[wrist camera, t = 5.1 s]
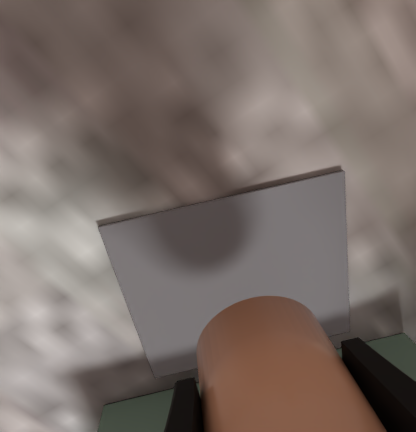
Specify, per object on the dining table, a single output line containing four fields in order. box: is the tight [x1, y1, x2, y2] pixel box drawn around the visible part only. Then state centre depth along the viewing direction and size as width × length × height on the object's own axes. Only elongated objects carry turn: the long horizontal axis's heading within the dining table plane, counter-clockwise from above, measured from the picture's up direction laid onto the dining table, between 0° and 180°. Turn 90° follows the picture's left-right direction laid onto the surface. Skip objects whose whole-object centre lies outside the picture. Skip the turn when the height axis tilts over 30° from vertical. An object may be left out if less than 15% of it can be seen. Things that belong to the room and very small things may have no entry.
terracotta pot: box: [196, 296, 387, 432], centre depth 9 cm, size 5×5×6 cm
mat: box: [98, 170, 350, 378], centre depth 16 cm, size 12×10×1 cm
